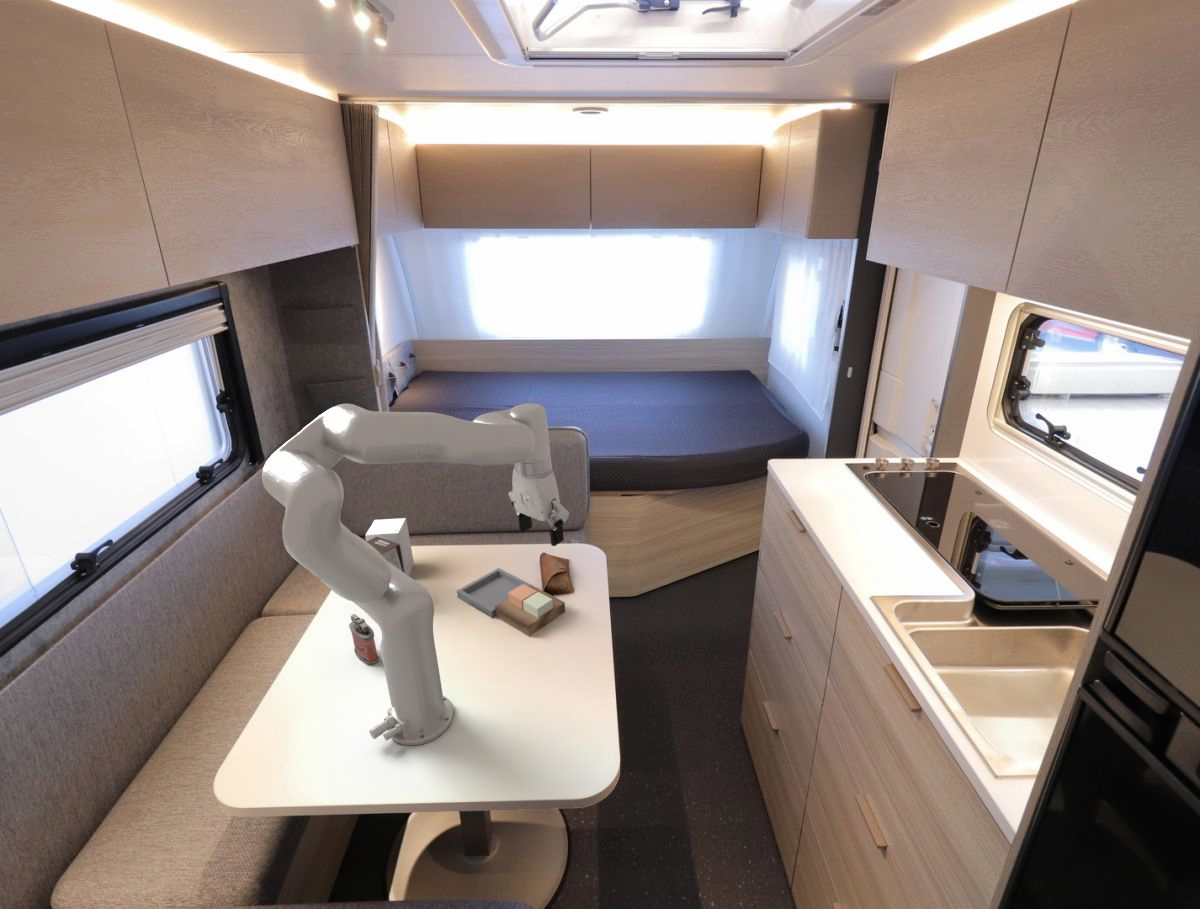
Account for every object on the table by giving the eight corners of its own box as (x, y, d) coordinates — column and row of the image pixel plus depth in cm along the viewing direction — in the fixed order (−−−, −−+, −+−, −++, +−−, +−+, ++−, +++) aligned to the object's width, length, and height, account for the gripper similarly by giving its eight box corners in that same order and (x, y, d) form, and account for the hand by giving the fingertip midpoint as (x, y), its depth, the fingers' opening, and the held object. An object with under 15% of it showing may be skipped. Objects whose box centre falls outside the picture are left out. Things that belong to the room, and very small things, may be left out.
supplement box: (415, 563, 175) (407, 517, 170) (407, 581, 167) (399, 532, 162) (382, 565, 175) (374, 518, 169) (373, 583, 167) (364, 534, 161)
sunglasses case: (576, 593, 159) (562, 575, 157) (554, 607, 160) (539, 590, 157) (569, 557, 176) (556, 541, 173) (548, 571, 176) (535, 554, 174)
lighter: (382, 660, 137) (375, 623, 134) (368, 668, 135) (360, 630, 132) (365, 644, 143) (357, 608, 139) (351, 652, 140) (343, 615, 137)
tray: (492, 618, 151) (491, 611, 150) (457, 597, 159) (456, 590, 159) (534, 592, 160) (533, 586, 160) (499, 574, 169) (498, 567, 168)
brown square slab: (529, 636, 144) (528, 625, 143) (496, 616, 151) (495, 606, 150) (565, 612, 152) (564, 602, 151) (532, 594, 159) (531, 584, 158)
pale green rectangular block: (537, 617, 145) (537, 609, 144) (523, 609, 148) (522, 601, 147) (552, 608, 149) (552, 599, 148) (538, 600, 152) (538, 591, 151)
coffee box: (410, 598, 159) (401, 544, 154) (390, 611, 154) (380, 555, 148) (386, 588, 164) (377, 535, 158) (366, 600, 159) (355, 546, 153)
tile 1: (522, 609, 149) (521, 600, 148) (508, 601, 152) (507, 592, 151) (537, 599, 152) (536, 591, 151) (523, 592, 155) (522, 583, 154)
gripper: (491, 461, 128) (501, 531, 135) (549, 481, 118) (558, 557, 125) (518, 448, 133) (527, 517, 140) (576, 467, 123) (582, 540, 130)
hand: (541, 536), depth 132 cm, fingers open, 9 cm apart
